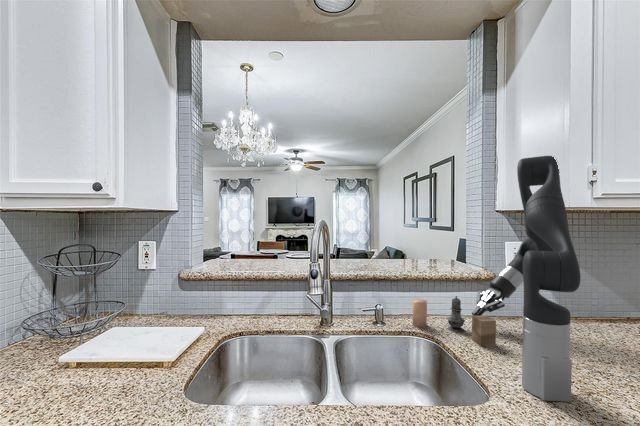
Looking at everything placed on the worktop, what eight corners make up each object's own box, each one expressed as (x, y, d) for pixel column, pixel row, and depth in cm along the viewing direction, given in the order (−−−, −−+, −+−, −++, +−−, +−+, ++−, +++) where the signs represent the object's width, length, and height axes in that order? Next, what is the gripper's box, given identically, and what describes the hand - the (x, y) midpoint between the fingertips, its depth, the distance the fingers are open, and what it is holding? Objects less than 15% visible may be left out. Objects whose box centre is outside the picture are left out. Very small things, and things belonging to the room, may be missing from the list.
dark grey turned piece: (462, 333, 112) (463, 299, 112) (444, 329, 116) (445, 296, 115) (466, 328, 117) (467, 295, 116) (449, 325, 120) (450, 292, 120)
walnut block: (495, 345, 103) (496, 320, 102) (480, 346, 102) (481, 321, 102) (486, 339, 108) (486, 315, 107) (471, 339, 107) (472, 315, 107)
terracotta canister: (428, 327, 117) (428, 303, 117) (414, 327, 118) (414, 302, 118) (424, 323, 122) (425, 299, 122) (411, 322, 123) (411, 298, 123)
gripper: (489, 270, 124) (457, 303, 123) (512, 278, 111) (478, 315, 110) (501, 284, 125) (470, 317, 124) (527, 293, 111) (492, 330, 111)
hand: (474, 316), depth 117 cm, fingers closed
